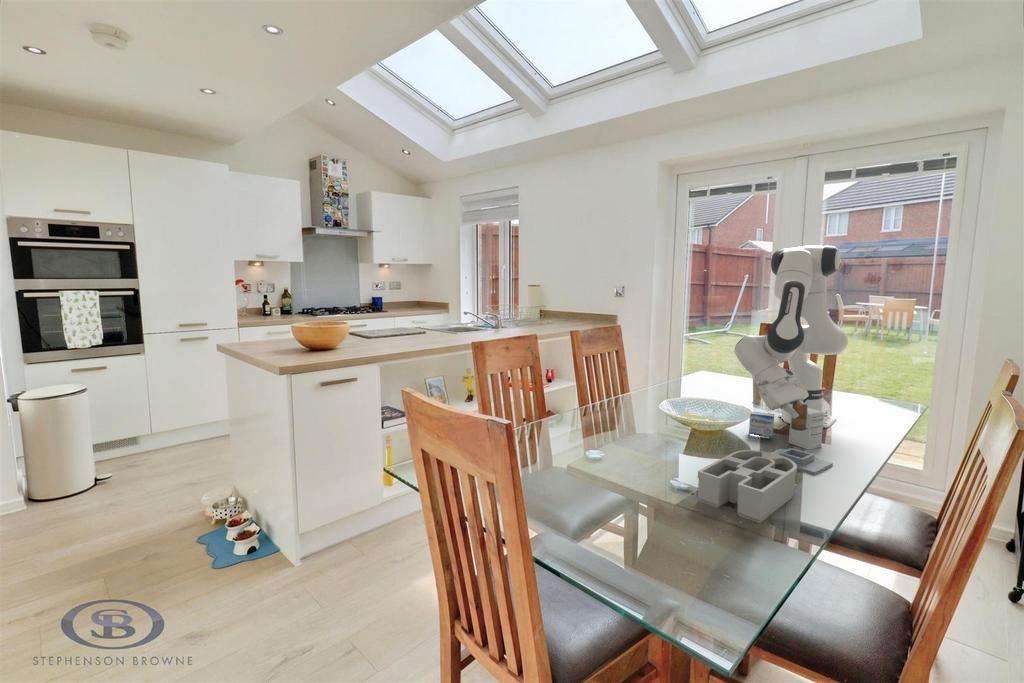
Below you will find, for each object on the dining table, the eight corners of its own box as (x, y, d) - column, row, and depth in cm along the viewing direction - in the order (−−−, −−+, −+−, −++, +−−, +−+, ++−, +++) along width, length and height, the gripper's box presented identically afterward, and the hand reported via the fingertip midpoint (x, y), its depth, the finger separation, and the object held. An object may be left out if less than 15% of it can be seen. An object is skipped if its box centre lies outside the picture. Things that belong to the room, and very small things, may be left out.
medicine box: (748, 436, 181) (749, 413, 179) (749, 433, 185) (750, 410, 183) (772, 439, 177) (774, 416, 176) (772, 436, 181) (774, 413, 180)
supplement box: (787, 443, 173) (790, 408, 171) (802, 440, 176) (804, 406, 174) (807, 450, 166) (810, 413, 165) (822, 446, 169) (825, 411, 167)
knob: (794, 425, 157) (796, 401, 156) (808, 429, 153) (810, 404, 152) (788, 428, 154) (790, 403, 153) (802, 431, 151) (803, 406, 150)
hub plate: (780, 451, 165) (780, 442, 165) (832, 466, 152) (833, 456, 152) (761, 459, 158) (761, 450, 158) (814, 475, 146) (815, 465, 145)
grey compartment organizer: (696, 502, 130) (697, 471, 129) (743, 473, 148) (745, 446, 147) (760, 526, 118) (762, 492, 117) (804, 491, 136) (806, 461, 135)
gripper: (762, 377, 151) (793, 415, 145) (794, 370, 163) (824, 404, 156) (747, 389, 156) (776, 426, 149) (780, 381, 167) (808, 415, 161)
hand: (801, 415), depth 153 cm, fingers closed on knob, 4 cm apart
